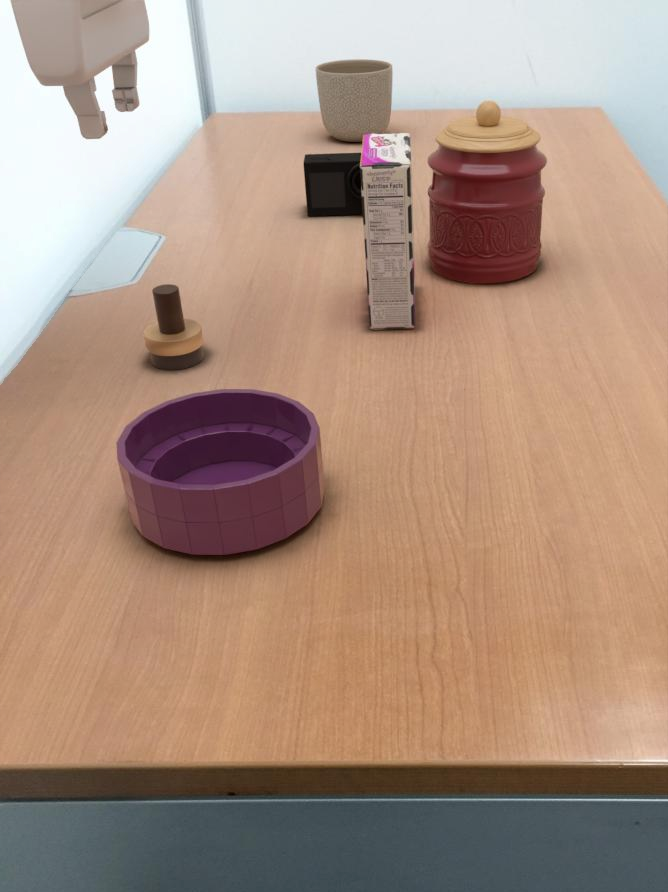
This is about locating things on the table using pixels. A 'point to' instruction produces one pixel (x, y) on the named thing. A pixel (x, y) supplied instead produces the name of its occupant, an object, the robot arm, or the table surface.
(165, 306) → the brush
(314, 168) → the digital camera
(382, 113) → the planter
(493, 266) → the kitchen canister
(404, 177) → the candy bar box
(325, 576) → the table surface
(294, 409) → the bowl
